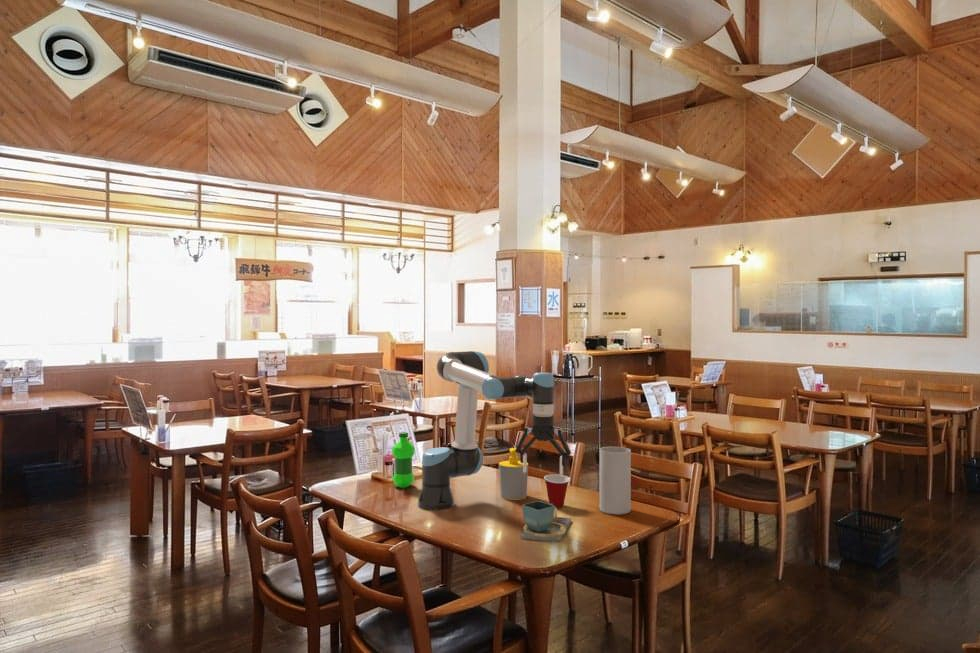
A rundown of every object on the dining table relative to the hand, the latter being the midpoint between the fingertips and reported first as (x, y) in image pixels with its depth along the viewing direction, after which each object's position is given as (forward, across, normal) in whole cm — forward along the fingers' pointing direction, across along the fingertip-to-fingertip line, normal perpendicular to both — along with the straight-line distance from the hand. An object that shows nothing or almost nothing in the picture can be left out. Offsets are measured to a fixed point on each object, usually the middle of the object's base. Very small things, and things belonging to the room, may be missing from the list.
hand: (542, 473), depth 235 cm
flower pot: (+21, -1, -1) cm, 21 cm away
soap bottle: (+22, -22, +44) cm, 54 cm away
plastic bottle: (+23, -76, +47) cm, 92 cm away
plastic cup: (+22, -1, +35) cm, 42 cm away
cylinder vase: (+22, +23, +35) cm, 47 cm away
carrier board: (+22, +1, +4) cm, 22 cm away
